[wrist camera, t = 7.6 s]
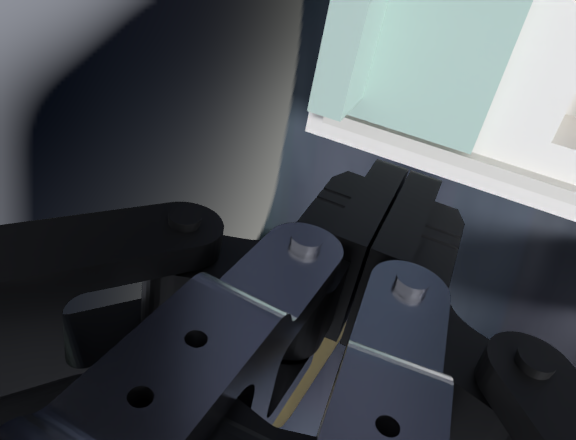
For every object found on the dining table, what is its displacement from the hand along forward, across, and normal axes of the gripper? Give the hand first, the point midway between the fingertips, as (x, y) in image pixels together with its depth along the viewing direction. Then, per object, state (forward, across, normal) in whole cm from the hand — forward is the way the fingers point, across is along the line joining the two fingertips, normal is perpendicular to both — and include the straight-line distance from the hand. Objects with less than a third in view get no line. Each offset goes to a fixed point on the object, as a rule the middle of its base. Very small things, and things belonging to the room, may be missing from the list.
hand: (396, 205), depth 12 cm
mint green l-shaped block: (+14, +2, 0) cm, 14 cm away
